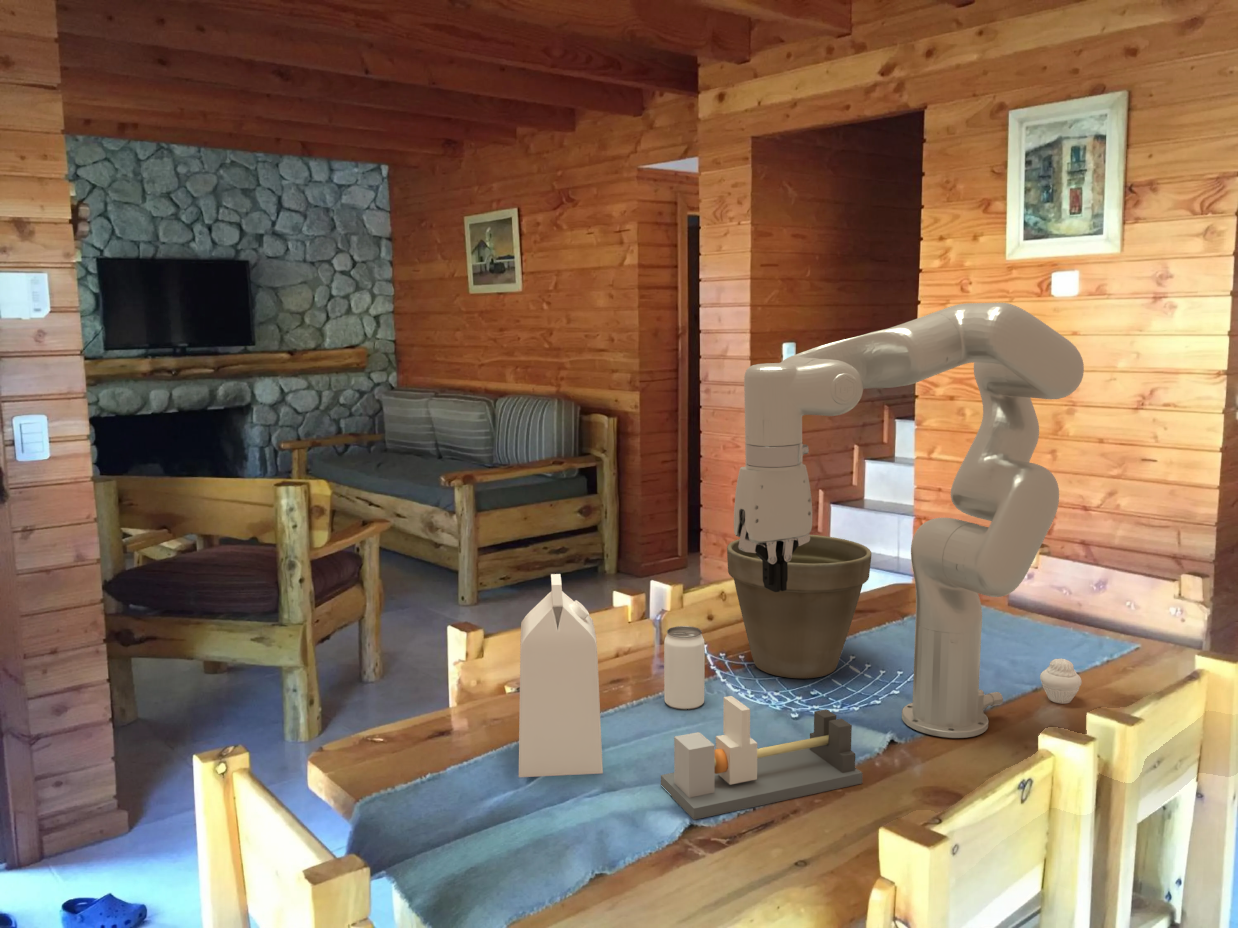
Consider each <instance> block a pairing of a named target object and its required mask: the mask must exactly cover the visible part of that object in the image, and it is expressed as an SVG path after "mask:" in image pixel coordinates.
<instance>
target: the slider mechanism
mask: <svg viewBox="0 0 1238 928" xmlns="http://www.w3.org/2000/svg"><path fill="white" fill-rule="evenodd" d="M813 713H814V714H813V732H811V733H809V738H806V739H800V740H795V741H791V742H790V741H789V742H785V743H780V744H775V745H771V746H764V747H761V748H758V747H757V779H755V780H751V781H746V782H741V783H736V784H731V785H730V784H729V783H727V782H726V781H725V780H724V779H723V778H722V777H721V776H720V775H718V773H723V772H726V771H727V768H728V761H727V756H726V754H725V752H724V750H723V749H716V744H714V743H713V742H712V741H711V740H709V739H708V738H707V737H705V736H704V735H703V734H702V732H698V731H697V732H692V733H687V734H683V735H682V734H681V735H676V736H674V737H673V739H674V740H673V741H674V742H673V743H674V744H673V745H674V747H673V749H674V752H673V753H674V754H673V755H674V756H673V757H674V760H673V761H674V768H673V769H674V771H673V772H669V773H664V774H660V786H661V785H662V786H663V787H664V788H665V789H666V790H667V791H668V792H669V793H670V794H671V796H672V797H673V798H672V797H671V796H670V797H671V798H672V799H673V800H674V799H675V800H674V801H675V802H676V803H677V804H678V805H679V806H680V807H681V808H682V809H683V811H685V813H687V815H688V816H689V817H690V818H692V820H694V821H695V820H700V819H703V818H708V817H709V818H710V817H712V816H713V817H714V816H718V815H721V814H722V815H723V814H726V813H732V812H737V811H740V810H746V809H751V808H754V807H760V806H764V805H769V804H773V803H778V802H783V801H787V800H792V799H797V798H801V797H802V798H803V797H806V796H810V795H815V794H819V793H825V792H829V791H833V790H834V791H835V790H837V789H842V788H848V787H852V786H857V785H861V784H863V772H862V771H861V770H859V769H858V768H856V753H855V752H854V751H853V750H852V735H853V733H852V728H853V726H852V724H851V723H850V722H848V721H846V720H845V719H843V718H838V719H837V715H836V714H835V713H834V712H832V711H830V710H829V709H825V708H824V709H820V710H815V711H814V712H813ZM662 786H661V787H662ZM663 787H662V788H663ZM664 788H663V789H664ZM665 789H664V790H665Z"/></svg>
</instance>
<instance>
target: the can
mask: <svg viewBox="0 0 1238 928" xmlns="http://www.w3.org/2000/svg"><path fill="white" fill-rule="evenodd" d="M702 633H703V631H702V630H701V629H700V628H699V627H695V626H690V625H677V626H673V627H670V628H668V629H667V630H666V635H665V638H664V644H663V645H664V646H663V647H664V648H663V649H664V650H663V653H664V654H663V656H664V657H663V666H664V667H663V668H664V669H663V673H664V674H663V675H664V676H663V677H664V678H663V680H664V684H663V685H664V691H663V692H664V702H665V703H666V705H667V706H669V707H670V708H672V709H677V710H683V711H684V710H687V709H688V710H695V709H697V708H699V707H701V706H702V705H703V704H704V703H705V673H706V672H705V665H706V663H705V653H706V651H705V639H704V637H703V635H702Z"/></svg>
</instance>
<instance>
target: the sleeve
mask: <svg viewBox="0 0 1238 928" xmlns="http://www.w3.org/2000/svg"><path fill="white" fill-rule="evenodd" d="M722 715H723V717H722V718H723V730H722V731H723V732H722V733H723V734H722V735H716V736H715V749H723V750H724V752H725V754H726V756H727V761H728V768H727V771H726V772H723V773H718V775H720V776H721V777H722V778H723V779H724V780H725V781H726V782H727V783H729V784H730V785H731V784H736V783H741V782H746V781H751V780H755V779H757V749H758V742H757V741H756V740H754V739H753V738H752V737H751V709H750V707H748V706H746V705H745V704H744V703H742V702H741V701H740V700H738V699H737V698H736V697H734V696H732V695H729V696H723V714H722Z"/></svg>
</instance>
